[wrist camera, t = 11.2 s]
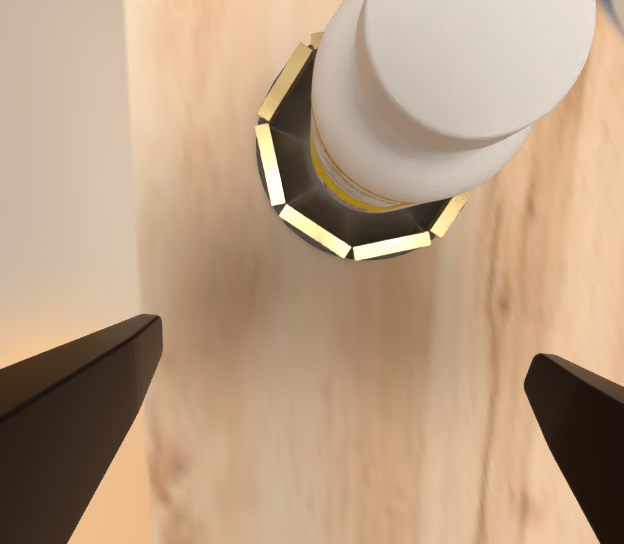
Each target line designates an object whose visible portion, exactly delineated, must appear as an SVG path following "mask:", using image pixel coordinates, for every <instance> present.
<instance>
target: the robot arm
mask: <svg viewBox="0 0 624 544" xmlns="http://www.w3.org/2000/svg"><path fill="white" fill-rule="evenodd" d="M162 350H163V336H162V320H161V317H160V316H158V315H150V314H141V315H138V316H135V317H133V318H130V319H128V320H125V321H123V322H120V323H118V324H115V325H112V326H110V327H107V328H105V329H102V330H99V331H97V332H95V333H92V334H89V335H87V336H84V337H82V338H79V339H76V340H74V341H71V342H69V343H66V344H64V345H61V346H58V347H56V348H53V349H51V350H48V351H46V352H43V353H41V354H38V355H36V356H33V357H30V358H28V359H25V360H23V361H20V362H18V363H15V364H12V365H10V366H7V367H5V368H2V369H0V544H67V543H68V541H69V539H70V537H71V536H72V534H73V532H74V530H75V528H76V526H77V525H78V523H79V521H80V519H81V517H82V515H83V513H84V512H85V510H86V508H87V506H88V504H89V502H90V501H91V499H92V497H93V495H94V493H95V491H96V490H97V488H98V486H99V484H100V482H101V480H102V479H103V477H104V475H105V473H106V471H107V469H108V467H109V466H110V464H111V462H112V460H113V458H114V457H115V455H116V453H117V451H118V449H119V447H120V446H121V444H122V442H123V440H124V438H125V436H126V434H127V433H128V431H129V429H130V427H131V425H132V424H133V422H134V420H135V418H136V416H137V414H138V412H139V410H140V407H141V405H142V403H143V400H144V398H145V395H146V393H147V390H148V388H149V385H150V383H151V380H152V378H153V375H154V373H155V370H156V368H157V365H158V363H159V360H160V358H161V355H162ZM524 390H525V393H526V395H527V398H528V400H529V402H530V405H531V407H532V409H533V412H534V414H535V417H536V419H537V421H538V424H539V426H540V428H541V431H542V433H543V436H544V438H545V440H546V442H547V445H548V447H549V449H550V451H551V453H552V455H553V457H554V459H555V461H556V463H557V464H558V466H559V468H560V470H561V472H562V474H563V476H564V477H565V479H566V481H567V483H568V485H569V487H570V488H571V490H572V492H573V494H574V496H575V498H576V500H577V501H578V503H579V505H580V507H581V509H582V511H583V513H584V514H585V516H586V518H587V520H588V522H589V524H590V526H591V527H592V529H593V531H594V533H595V535H596V537H597V539H598V540H599V542H600V544H624V387H623V386H620V385H618V384H616V383H614V382H612V381H610V380H608V379H606V378H604V377H601V376H599V375H597V374H595V373H593V372H591V371H589V370H587V369H584V368H582V367H580V366H578V365H576V364H574V363H572V362H570V361H568V360H565V359H563V358H561V357H559V356H557V355H553V354H543V353H539V354H537V355H535V356H534V358H533V360H532V362H531V365H530V368H529V370H528V373H527V375H526V378H525V381H524Z"/></svg>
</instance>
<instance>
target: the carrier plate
mask: <svg viewBox="0 0 624 544" xmlns="http://www.w3.org/2000/svg"><path fill="white" fill-rule="evenodd" d="M323 34H324V32H320V33H315V34H311V45H309V46H306V45H304V44H303V43H301V42H300V44H299V45H298V47H297V49H296V50H295V52H294V53H293V55H292V57H291V58H290V60H289V62H288V63H287V65H286V66H285V67H284V68H283V70H282V71H281V73H280V74H279V75H278V77H277V78H276V80H275V81H274V83H273V85H272V86H271V88H270V90H269V92H268V94H267V96H266V99H265V100H264V102H263V104H262V105H261V107H260V109H259V110H258V112H257V115H258V117H259V122H258V125H257V126H255V130H256V135H257V138H256V149H257V161H258V168H259V172H260V176H261V179H262V183H263V186H264V188H265V191H266V193H267V195H268V198H269V200H270V201H271V203H272V206H273V207H274V208H275V210H276V211H277V213H278V214H279V216H280V217H281V218H282V219H283V220H284V222H285V223H286V224H287V225H288V226H289V227H290V228H291V229H292V230H293V231H294V232H295V233H296V234H297V235H299V236H300V237H301V238H303V239H304V240H305V241H307V242H308V243H310V244H312V245H313V246H315V247H317V248H319V249H321V250H323V251H326V252H328V253H331V254H333V255H336V256H340V257H342V258H349V259H354V260H355V261H357V260H379V259H386V258H392V257H395V256H399V255H402V254H405V253H408V252H410V251H413V250H415V249H417V248H419V247H423V246H428V245H431V242H430V241H431V240H432V239H433V238H442V236H443V235H444V233H445V232H446V230H447V229H448V228H449V226H450V225H451V223H452V222H453V220H454V219H455V217H456V216H457V215H458V214H459V212H460V211H461V210H462V208H463V206H464V205H465V203H466V201H467V200H468V198H469V197H470V195H471V194H472V193H473V191H474V190H475V188H474V189H472V190H469V191H467V192H465V193H463V194H460V195H458V196H455V197H451V198H447V199H443V200H438V201H433V202H428V203H423V204H419V205H415V206H411V207H407V208H402V209H398V210H394V211H389V212H383V213H364V212H359V211H356V210H353V209H350V208H348V207H346V206H344V205H342V204H340V203H339V202H337V201H336V200H335V199H334V198H332V197H331V196H330V195H329V194H328V193H327V192H326V190H325V189H324V188H323V186H322V185H321V183H320V182H319V180H318V178H317V176H316V174H315V171H314V168H313V165H312V160H311V153H310V127H311V92H312V77H313V68H314V62H315V57H316V53H317V50H318V47H319V44H320V41H321V38H322V36H323Z"/></svg>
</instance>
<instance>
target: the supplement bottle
mask: <svg viewBox="0 0 624 544" xmlns="http://www.w3.org/2000/svg"><path fill="white" fill-rule="evenodd" d="M595 12H596V3H595V0H344V1H343V3H342V4H341V5H340V7H339V8H338V9H337V11H336V12H335V14H334V15H333V16H332V18H331V20H330V22H329V24H328V25H327V27H326V29H325V32H324V34H323V36H322V38H321V41H320V44H319V47H318V50H317V53H316V57H315V62H314V68H313V77H312V92H311V127H310V153H311V160H312V165H313V168H314V171H315V174H316V176H317V178H318V180H319V182H320V183H321V185H322V186H323V188H324V189H325V190H326V192H327V193H328V194H329V195H330V196H331V197H332V198H334V199H335V200H336V201H337V202H339V203H340V204H342V205H344V206H346V207H348V208H350V209H353V210H356V211H359V212H364V213H383V212H389V211H394V210H398V209H402V208H407V207H411V206H415V205H419V204H423V203H428V202H433V201H438V200H443V199H447V198H451V197H455V196H458V195H460V194H463V193H465V192H467V191H469V190H472V189H474V188H476V187H478V186H479V185H481V184H483V183H484V182H486V181H487V180H488V179H490V178H491V177H492V176H494V175H495V174H496V173H498V172H499V171H500V170H501V169H502V168H503V167H504V166H505V165H506V164H507V163H508V162H509V161H510V160H511V159H512V157H513V156H514V155H515V154H516V153H517V151H518V150H519V148H520V147H521V146H522V144H523V143H524V141H525V139H526V138H527V136H528V134H529V132H530V130H531V128H532V126H533V124H534V123H535V122H536V121H538V120H539V119H541V118H542V117H544V116H545V115H546V114H547V113H549V112H550V111H551V110H552V109H553V108H554V107H555V106H556V105H557V104H558V103H559V102H560V101H561V100H562V99H563V97H564V96H565V95H566V94H567V93H568V92H569V90H570V89H571V87H572V86H573V84H574V83H575V81H576V80H577V78H578V76H579V74H580V72H581V70H582V68H583V66H584V65H585V62H586V60H587V57H588V54H589V51H590V47H591V44H592V40H593V34H594V29H595Z"/></svg>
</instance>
